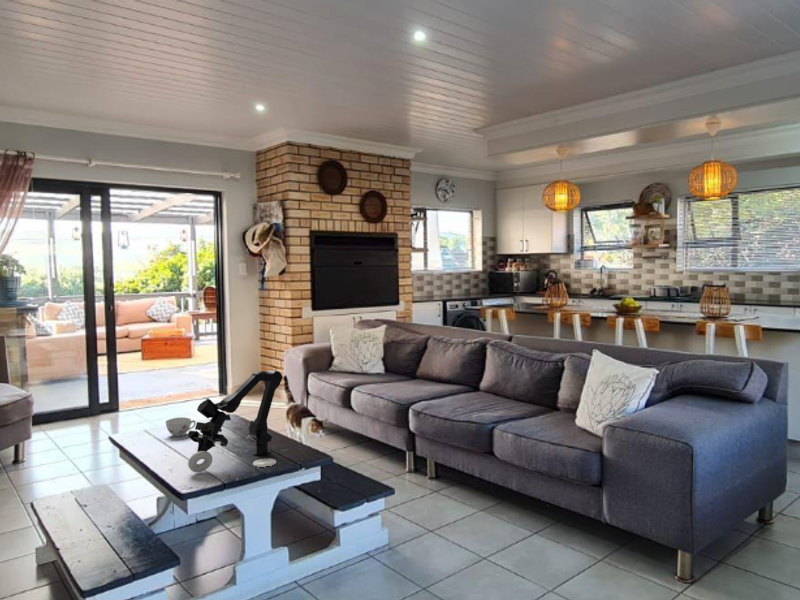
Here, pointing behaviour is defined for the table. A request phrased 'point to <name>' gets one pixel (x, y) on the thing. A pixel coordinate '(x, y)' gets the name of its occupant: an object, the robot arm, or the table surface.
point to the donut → (196, 458)
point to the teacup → (179, 425)
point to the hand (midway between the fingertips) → (197, 456)
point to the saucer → (264, 462)
